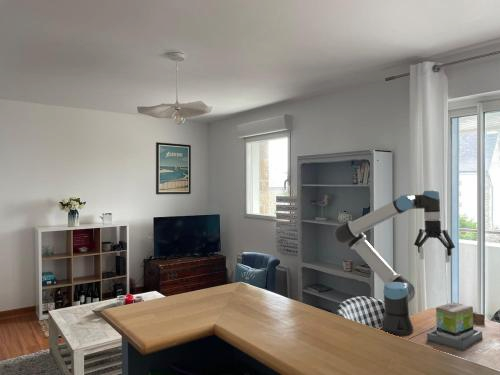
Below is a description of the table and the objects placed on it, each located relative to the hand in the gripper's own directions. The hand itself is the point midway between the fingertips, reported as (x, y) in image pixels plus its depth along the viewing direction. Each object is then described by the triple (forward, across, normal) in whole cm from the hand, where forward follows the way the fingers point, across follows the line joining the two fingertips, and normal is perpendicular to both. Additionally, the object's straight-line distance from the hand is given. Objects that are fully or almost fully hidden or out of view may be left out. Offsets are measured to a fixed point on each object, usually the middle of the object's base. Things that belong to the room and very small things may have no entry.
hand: (434, 260), depth 197 cm
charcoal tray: (+35, -13, +10) cm, 38 cm away
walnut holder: (+35, -8, -12) cm, 38 cm away
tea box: (+34, -13, +10) cm, 38 cm away
